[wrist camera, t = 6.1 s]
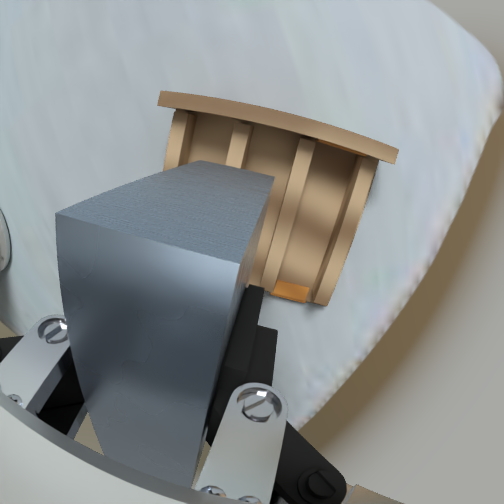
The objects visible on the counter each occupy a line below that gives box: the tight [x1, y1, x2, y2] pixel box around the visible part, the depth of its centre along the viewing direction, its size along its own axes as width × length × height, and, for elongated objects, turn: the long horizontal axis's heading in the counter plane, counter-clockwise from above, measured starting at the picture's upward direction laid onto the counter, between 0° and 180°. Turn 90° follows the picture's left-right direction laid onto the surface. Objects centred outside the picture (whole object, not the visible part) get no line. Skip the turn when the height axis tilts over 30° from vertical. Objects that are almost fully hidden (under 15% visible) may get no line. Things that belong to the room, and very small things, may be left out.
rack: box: [157, 91, 399, 306], centre depth 24 cm, size 16×18×5 cm
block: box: [55, 160, 275, 489], centre depth 9 cm, size 9×3×8 cm, turn 167°
